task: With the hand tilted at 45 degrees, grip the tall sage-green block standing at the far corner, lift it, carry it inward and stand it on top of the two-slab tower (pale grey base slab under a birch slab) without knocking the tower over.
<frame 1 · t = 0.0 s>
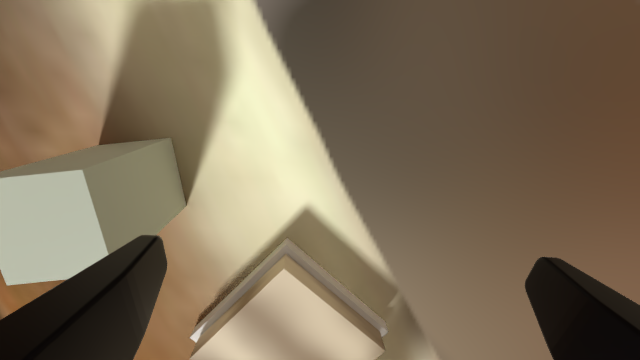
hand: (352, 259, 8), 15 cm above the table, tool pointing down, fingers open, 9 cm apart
base slab: (291, 317, 27), on the table, touching birch slab
sage block: (143, 176, 23), on the table
birch slab: (289, 334, 26), point 1 cm above the table, touching base slab
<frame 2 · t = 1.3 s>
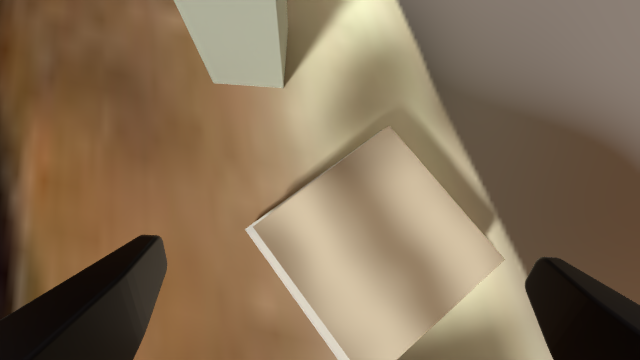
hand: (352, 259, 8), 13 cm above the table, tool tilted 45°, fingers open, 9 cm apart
base slab: (365, 247, 22), on the table, touching birch slab
sage block: (252, 55, 24), on the table
birch slab: (372, 244, 20), point 1 cm above the table, touching base slab
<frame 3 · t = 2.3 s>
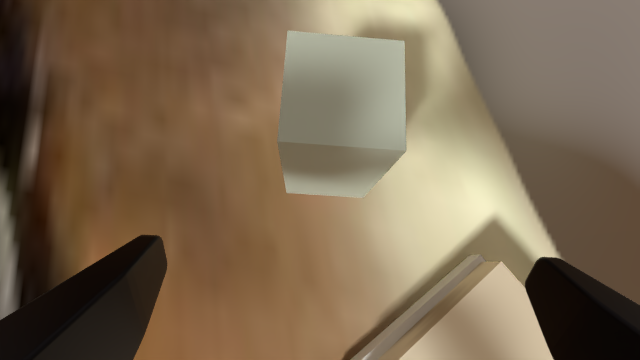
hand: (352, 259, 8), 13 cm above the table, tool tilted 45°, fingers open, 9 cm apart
sage block: (326, 158, 22), on the table
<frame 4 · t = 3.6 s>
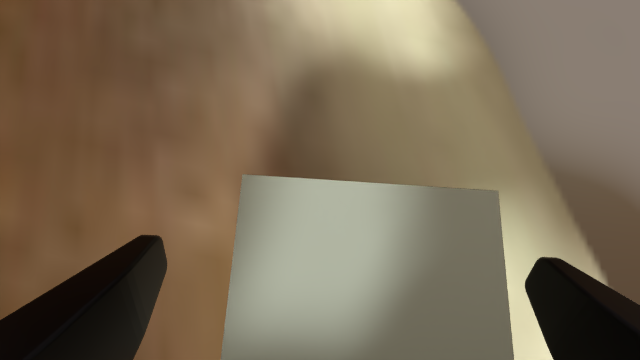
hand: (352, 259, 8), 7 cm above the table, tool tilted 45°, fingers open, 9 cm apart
sage block: (328, 288, 14), on the table
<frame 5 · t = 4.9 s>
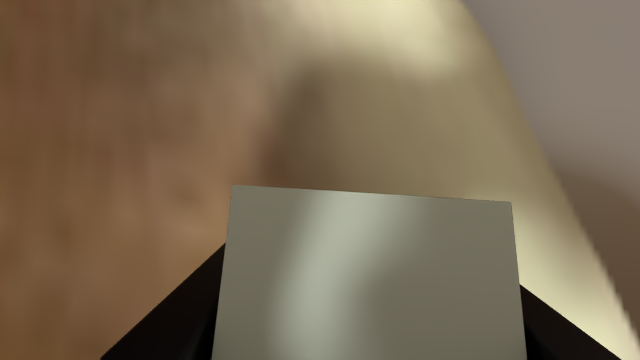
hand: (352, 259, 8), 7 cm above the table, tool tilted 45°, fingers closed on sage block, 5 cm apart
sage block: (327, 295, 14), on the table, touching gripper
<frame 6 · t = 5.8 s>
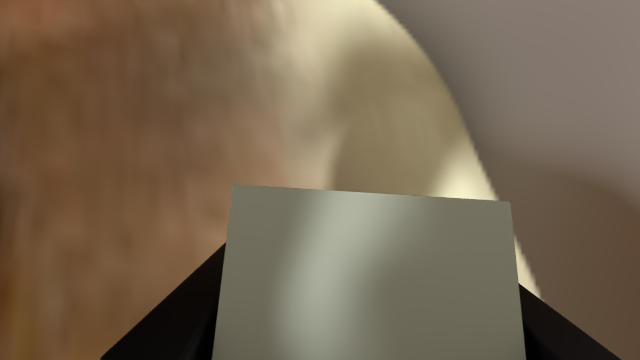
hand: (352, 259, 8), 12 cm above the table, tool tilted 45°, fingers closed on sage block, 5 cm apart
sage block: (327, 295, 14), point 5 cm above the table, touching gripper
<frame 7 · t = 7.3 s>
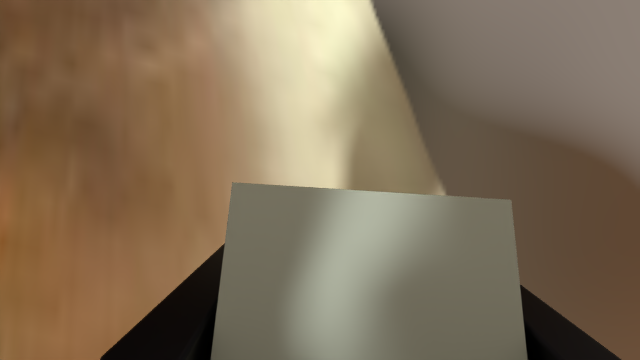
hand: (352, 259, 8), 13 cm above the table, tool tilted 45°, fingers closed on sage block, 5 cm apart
sage block: (327, 295, 14), point 7 cm above the table, touching gripper
when the fingers open (12 cm above the table, at t = 8.8 s): sage block drops 2 cm, resting on birch slab.
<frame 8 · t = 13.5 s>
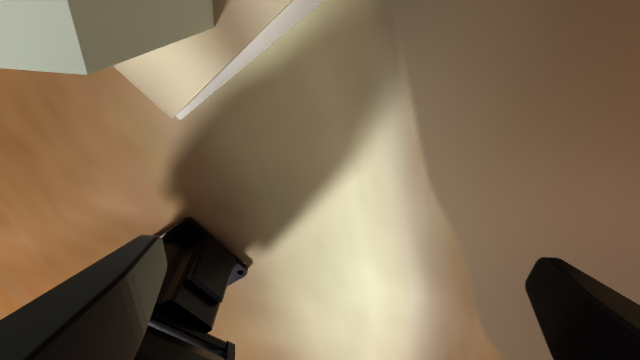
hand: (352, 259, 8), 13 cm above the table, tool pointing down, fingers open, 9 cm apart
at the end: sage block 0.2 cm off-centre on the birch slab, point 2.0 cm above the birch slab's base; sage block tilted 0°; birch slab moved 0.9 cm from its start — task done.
